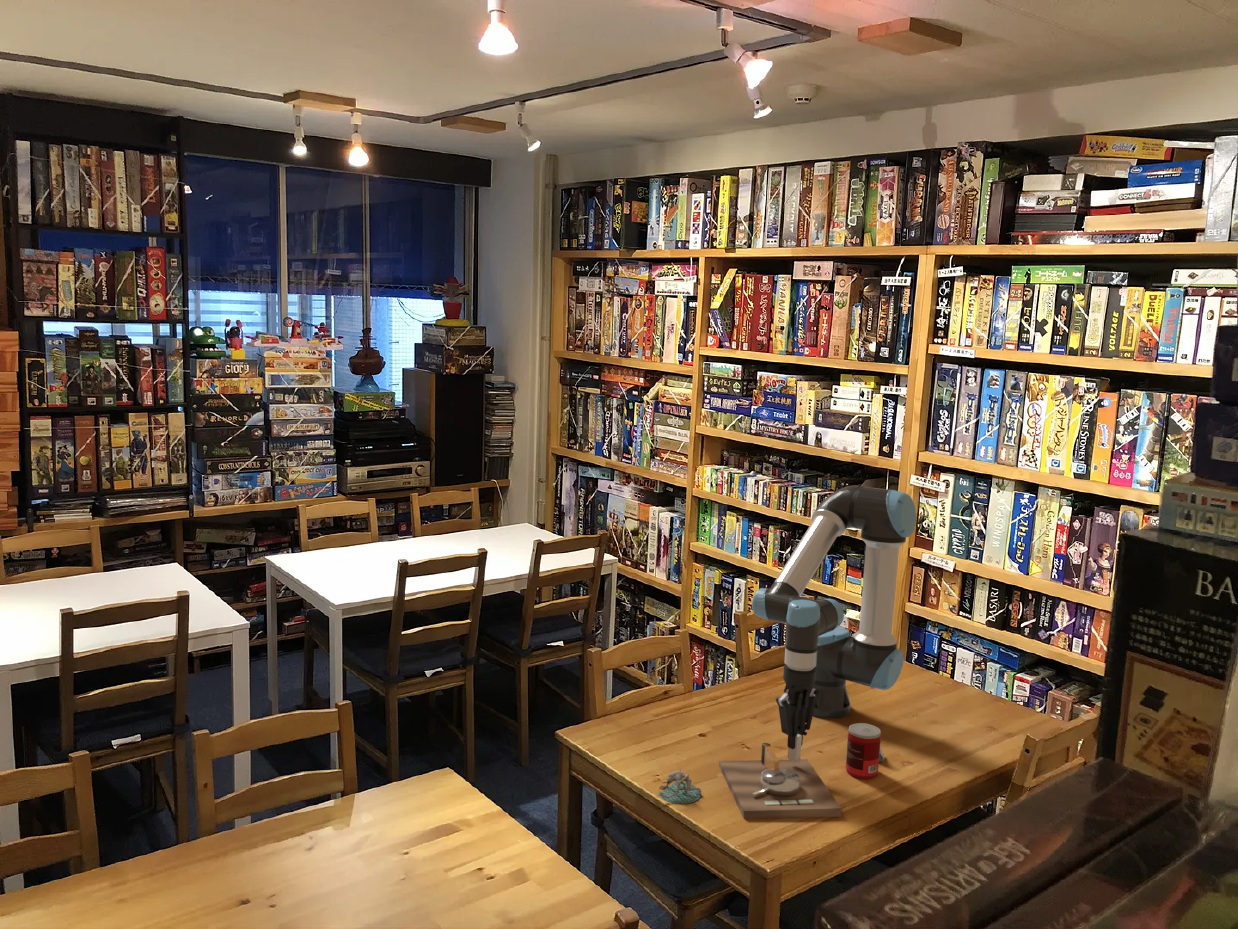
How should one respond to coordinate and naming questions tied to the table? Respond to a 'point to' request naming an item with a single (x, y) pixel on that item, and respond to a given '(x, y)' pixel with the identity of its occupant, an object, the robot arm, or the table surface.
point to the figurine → (680, 789)
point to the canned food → (863, 750)
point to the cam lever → (776, 776)
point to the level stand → (802, 805)
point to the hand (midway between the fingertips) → (793, 759)
